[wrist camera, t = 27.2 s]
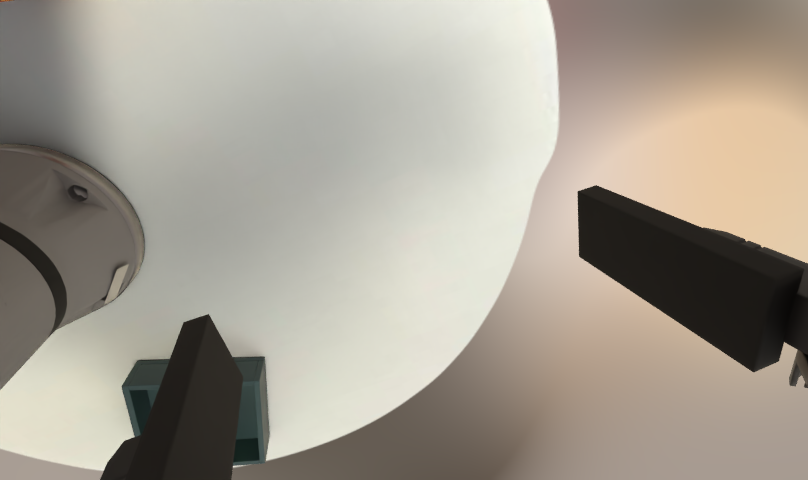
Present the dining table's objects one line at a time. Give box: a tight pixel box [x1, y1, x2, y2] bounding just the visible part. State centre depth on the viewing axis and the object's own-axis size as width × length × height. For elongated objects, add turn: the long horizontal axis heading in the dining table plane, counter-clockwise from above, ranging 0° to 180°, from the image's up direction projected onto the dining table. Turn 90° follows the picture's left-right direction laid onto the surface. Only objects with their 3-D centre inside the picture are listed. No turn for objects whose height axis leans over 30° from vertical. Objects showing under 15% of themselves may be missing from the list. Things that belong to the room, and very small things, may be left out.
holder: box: [122, 357, 269, 466], centre depth 45 cm, size 13×13×4 cm
